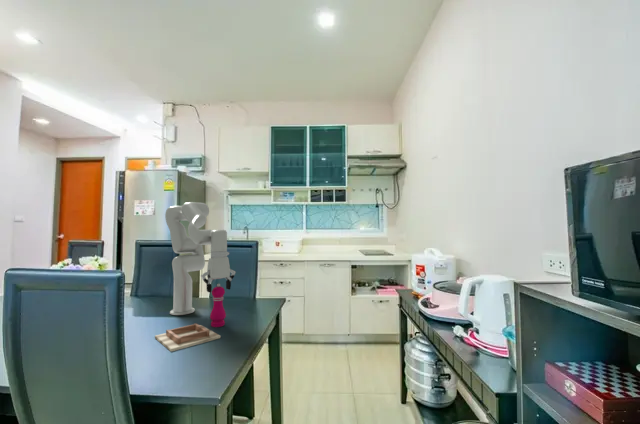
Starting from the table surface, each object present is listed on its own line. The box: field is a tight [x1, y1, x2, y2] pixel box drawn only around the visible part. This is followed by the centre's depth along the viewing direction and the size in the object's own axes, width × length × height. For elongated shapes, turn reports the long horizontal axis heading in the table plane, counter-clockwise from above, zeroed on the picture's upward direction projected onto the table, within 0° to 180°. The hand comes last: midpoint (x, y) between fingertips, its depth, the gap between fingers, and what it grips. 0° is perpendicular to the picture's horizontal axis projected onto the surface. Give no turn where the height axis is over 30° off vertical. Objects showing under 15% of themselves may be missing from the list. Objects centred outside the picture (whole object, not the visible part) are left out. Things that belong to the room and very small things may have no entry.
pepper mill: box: [209, 283, 227, 328], centre depth 147 cm, size 7×7×20 cm
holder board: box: [154, 323, 221, 352], centre depth 130 cm, size 20×20×3 cm
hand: (219, 290), depth 147 cm, fingers open, 9 cm apart
